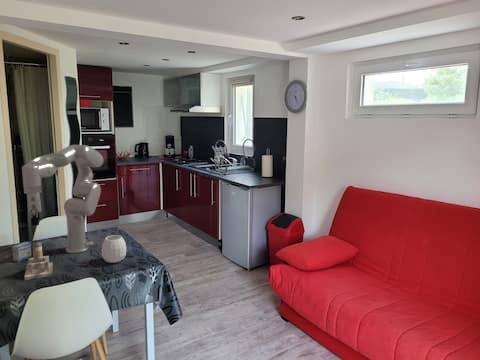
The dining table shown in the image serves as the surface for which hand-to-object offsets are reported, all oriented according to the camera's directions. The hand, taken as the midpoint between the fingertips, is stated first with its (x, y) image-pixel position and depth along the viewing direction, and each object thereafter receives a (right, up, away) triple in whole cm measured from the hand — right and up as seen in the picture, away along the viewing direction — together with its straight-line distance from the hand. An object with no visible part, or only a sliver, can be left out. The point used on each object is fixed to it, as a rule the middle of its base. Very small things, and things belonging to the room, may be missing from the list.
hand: (35, 222), depth 178 cm
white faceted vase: (+32, -24, +21) cm, 46 cm away
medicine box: (-18, -23, +19) cm, 35 cm away
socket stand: (0, -26, +4) cm, 27 cm away
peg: (0, -25, +4) cm, 25 cm away
